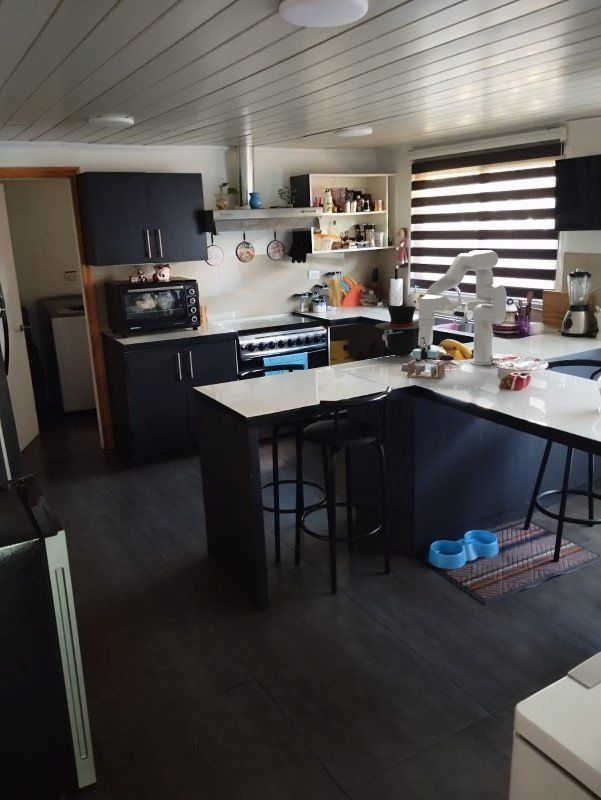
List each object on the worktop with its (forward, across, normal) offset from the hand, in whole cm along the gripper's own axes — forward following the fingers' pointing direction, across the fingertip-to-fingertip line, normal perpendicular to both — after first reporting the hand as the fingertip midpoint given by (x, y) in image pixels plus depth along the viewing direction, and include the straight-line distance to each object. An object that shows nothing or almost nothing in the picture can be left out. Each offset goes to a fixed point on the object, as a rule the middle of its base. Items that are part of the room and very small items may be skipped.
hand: (425, 358), depth 311 cm
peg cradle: (+9, 0, 0) cm, 9 cm away
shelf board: (-1, 0, 0) cm, 1 cm away
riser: (+9, -11, -10) cm, 18 cm away
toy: (+9, -46, -28) cm, 55 cm away
